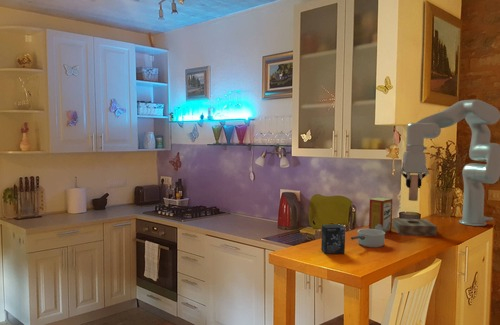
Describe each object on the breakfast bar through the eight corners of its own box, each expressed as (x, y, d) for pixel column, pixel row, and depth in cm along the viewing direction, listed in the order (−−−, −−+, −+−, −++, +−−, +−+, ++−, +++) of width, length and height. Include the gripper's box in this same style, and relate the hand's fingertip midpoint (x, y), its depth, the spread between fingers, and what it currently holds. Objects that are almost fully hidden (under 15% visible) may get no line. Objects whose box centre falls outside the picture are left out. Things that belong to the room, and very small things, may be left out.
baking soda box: (378, 228, 205) (379, 196, 203) (391, 231, 200) (392, 198, 199) (368, 231, 198) (369, 198, 197) (381, 234, 193) (382, 200, 192)
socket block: (425, 228, 207) (425, 219, 206) (436, 236, 191) (437, 226, 190) (392, 227, 208) (392, 218, 208) (400, 235, 192) (401, 225, 192)
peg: (416, 199, 201) (417, 174, 200) (418, 200, 197) (419, 175, 196) (407, 199, 202) (408, 174, 201) (409, 200, 198) (410, 175, 197)
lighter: (374, 235, 191) (375, 218, 191) (376, 234, 192) (377, 217, 192) (388, 238, 186) (389, 220, 185) (390, 237, 187) (391, 220, 187)
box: (325, 254, 160) (326, 227, 160) (321, 250, 166) (321, 224, 165) (345, 254, 162) (345, 227, 161) (340, 250, 167) (340, 224, 166)
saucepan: (339, 248, 170) (340, 234, 170) (366, 240, 184) (366, 227, 183) (364, 254, 162) (365, 240, 161) (390, 245, 175) (390, 232, 175)
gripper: (430, 149, 201) (429, 186, 202) (394, 148, 202) (393, 186, 204) (435, 149, 193) (434, 189, 194) (398, 149, 195) (397, 188, 196)
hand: (413, 187), depth 199 cm, fingers closed on peg, 4 cm apart
